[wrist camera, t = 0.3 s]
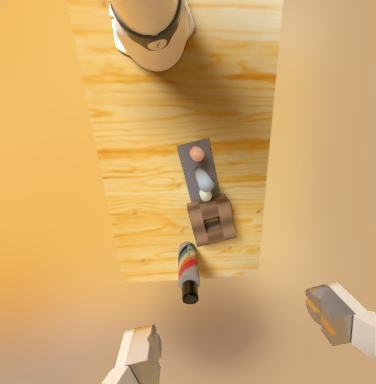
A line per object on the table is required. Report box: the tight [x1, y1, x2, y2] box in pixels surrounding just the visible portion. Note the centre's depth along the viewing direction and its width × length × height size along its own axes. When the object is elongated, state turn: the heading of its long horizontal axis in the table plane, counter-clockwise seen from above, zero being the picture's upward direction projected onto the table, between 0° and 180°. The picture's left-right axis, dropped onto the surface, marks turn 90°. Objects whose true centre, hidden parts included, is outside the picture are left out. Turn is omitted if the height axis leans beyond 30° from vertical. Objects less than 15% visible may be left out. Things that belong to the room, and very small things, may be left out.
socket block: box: [187, 194, 236, 247], centre depth 56 cm, size 12×12×6 cm
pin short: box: [199, 188, 212, 202], centre depth 53 cm, size 3×3×5 cm
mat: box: [177, 138, 220, 202], centre depth 53 cm, size 17×9×1 cm, turn 14°
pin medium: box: [189, 146, 204, 162], centre depth 48 cm, size 3×3×8 cm
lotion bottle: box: [178, 242, 200, 304], centre depth 53 cm, size 6×6×20 cm
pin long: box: [194, 166, 214, 192], centre depth 47 cm, size 3×3×14 cm
